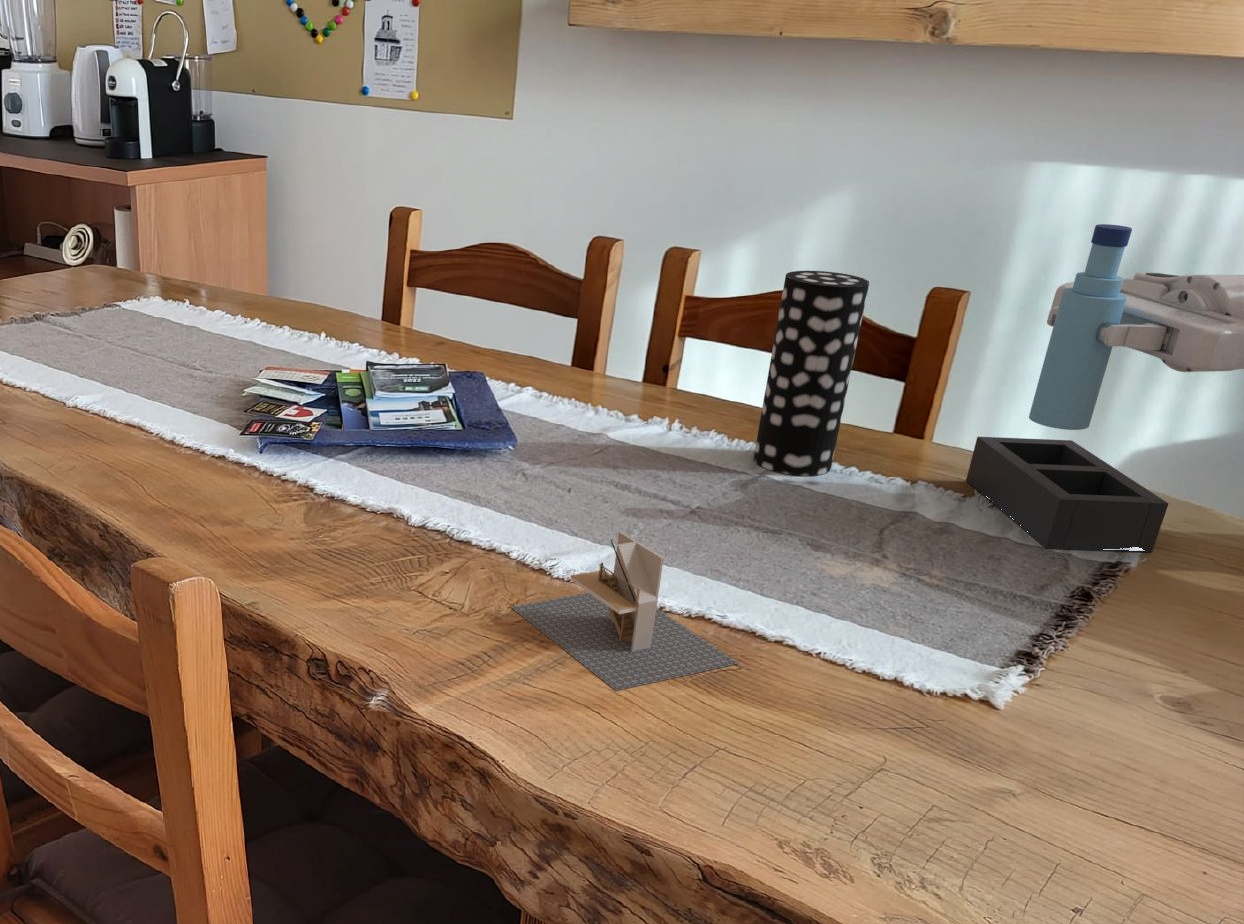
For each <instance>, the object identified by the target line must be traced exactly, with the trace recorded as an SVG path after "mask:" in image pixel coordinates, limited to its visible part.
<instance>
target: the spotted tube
mask: <svg viewBox="0 0 1244 924" xmlns="http://www.w3.org/2000/svg"><path fill="white" fill-rule="evenodd" d="M869 287H870V281H869V280H867V279H866V278H864V277H860V276H856V275H852V274H847V273H842V272H834V271H824V270H795V271H789V272H787V273H785V278H784V282H783V289H782V295H781V300H780V306H779V312H778V316H777V323H776V327H775V333H774V339H773V344H772V351H771V356H770V362H769V368H768V374H767V380H766V384H765V389H764V396H763V402H762V408H761V413H760V419H759V424H758V430H757V435H756V441H755V446H754V453H753V458H752V459H753V462H754V463H756V464H757V465H758V466H759V467H761V468H764V469H765V470H769V471H772V472H775V473H780V474H786V475H791V476H803V477H805V476H807V477H808V476H809V477H810V476H820V475H824V474H827V473H828V472H830V471H831V469H832V466H833V460H834V456H835V451H836V446H837V441H838V437H839V432H840V426H841V422H842V418H843V412H844V408H845V403H846V398H847V393H848V389H849V384H850V379H851V375H852V374H851V373H852V369H853V364H854V360H855V355H856V350H857V344H858V340H859V336H860V331H861V325H862V322H863V316H864V311H865V306H866V301H867V296H868V293H869V292H868V291H869Z"/></svg>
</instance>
